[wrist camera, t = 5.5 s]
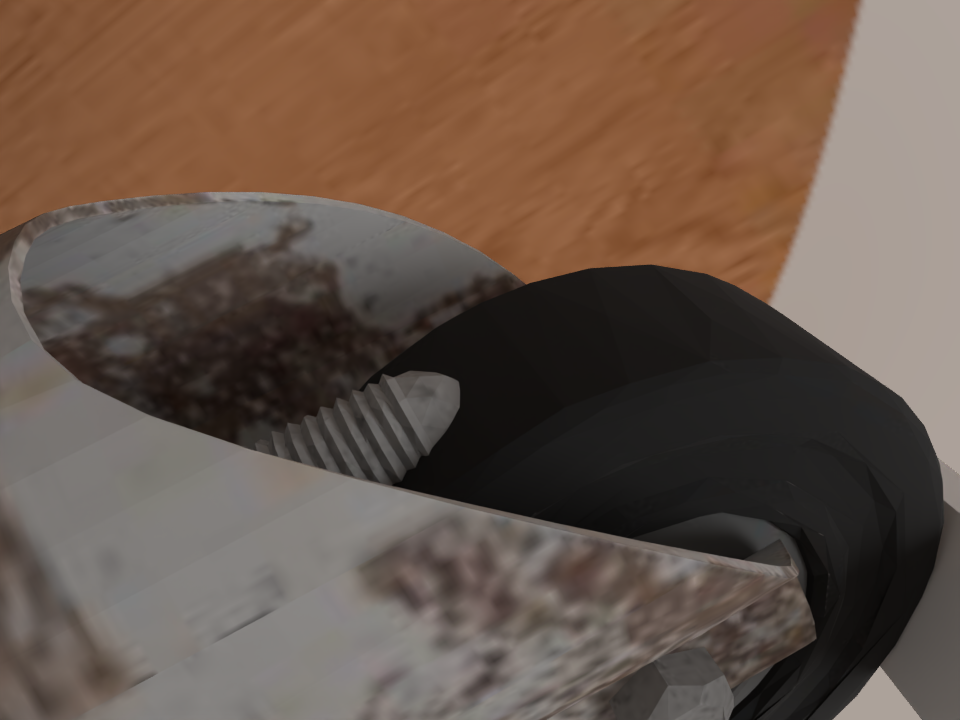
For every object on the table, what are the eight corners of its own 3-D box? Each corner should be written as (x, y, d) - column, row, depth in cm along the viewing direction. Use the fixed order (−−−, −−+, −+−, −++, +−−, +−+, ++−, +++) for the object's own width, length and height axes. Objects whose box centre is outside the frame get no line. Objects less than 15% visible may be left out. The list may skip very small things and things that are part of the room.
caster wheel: (760, 489, 16) (302, 743, 15) (633, -152, 9) (-204, 243, 8) (1082, 812, 10) (386, 1241, 9) (1356, -210, 4) (-930, 951, 3)
